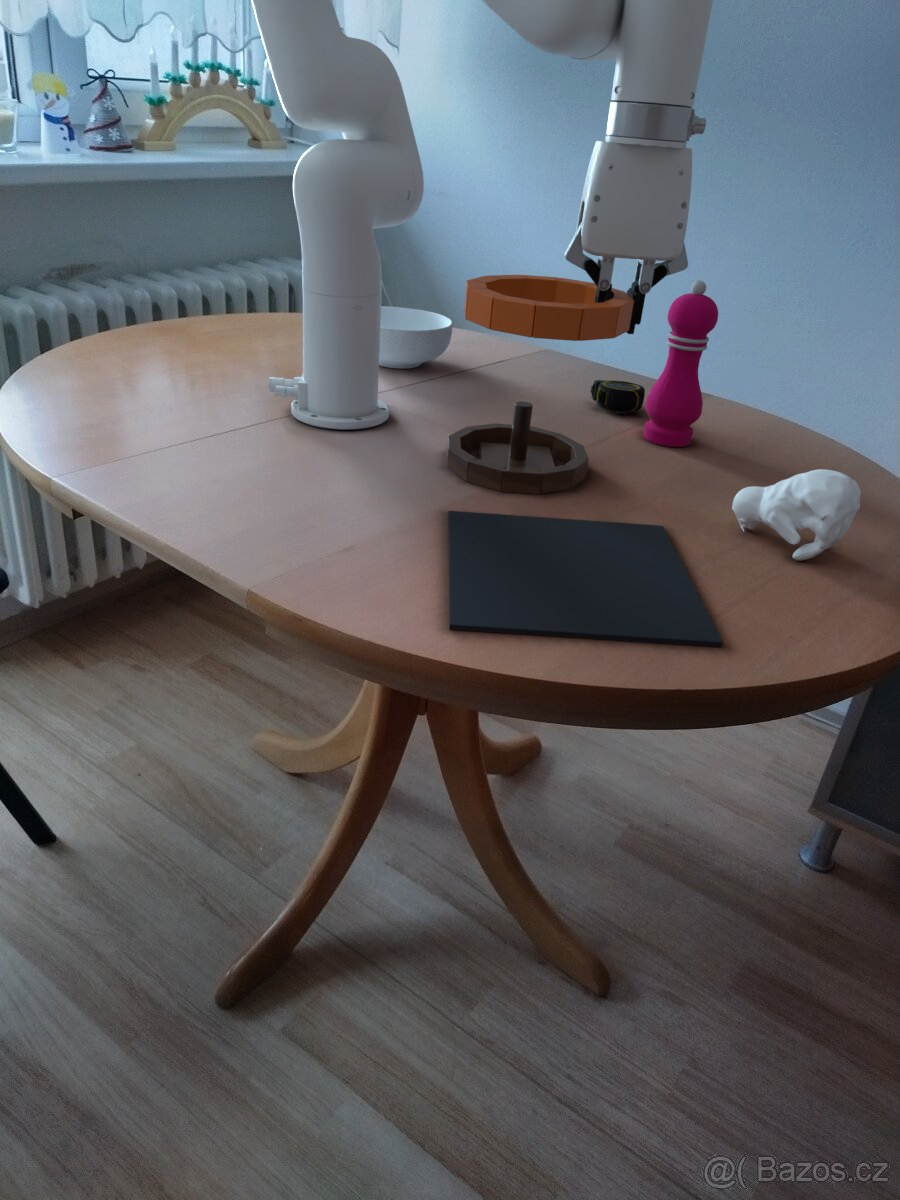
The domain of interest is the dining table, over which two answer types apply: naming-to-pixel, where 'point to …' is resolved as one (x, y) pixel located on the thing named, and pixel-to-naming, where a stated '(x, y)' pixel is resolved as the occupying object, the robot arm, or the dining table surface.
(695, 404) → the pepper mill
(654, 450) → the dining table surface
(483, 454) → the post
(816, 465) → the dining table surface
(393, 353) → the cereal bowl
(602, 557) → the mat
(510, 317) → the orange ring
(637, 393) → the tape measure
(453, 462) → the walnut ring
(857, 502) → the white animal figurine
